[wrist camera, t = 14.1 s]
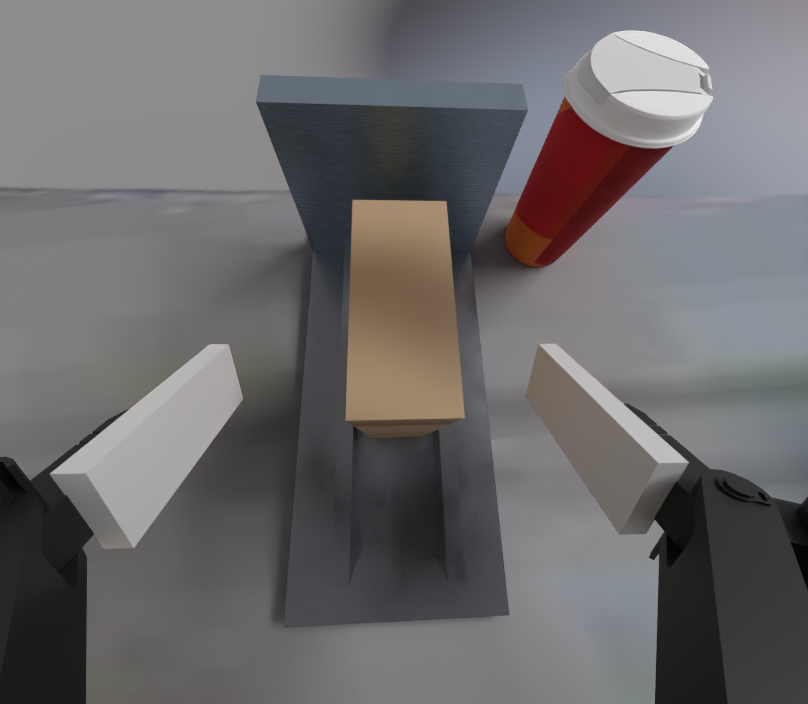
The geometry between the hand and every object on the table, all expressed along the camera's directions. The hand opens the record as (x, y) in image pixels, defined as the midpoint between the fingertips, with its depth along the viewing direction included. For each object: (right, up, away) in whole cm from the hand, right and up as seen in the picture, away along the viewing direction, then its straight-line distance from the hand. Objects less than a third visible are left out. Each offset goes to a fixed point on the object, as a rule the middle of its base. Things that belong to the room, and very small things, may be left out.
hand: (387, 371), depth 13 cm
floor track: (0, -2, +11) cm, 11 cm away
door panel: (0, -2, +10) cm, 10 cm away
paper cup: (+13, +11, +16) cm, 24 cm away
